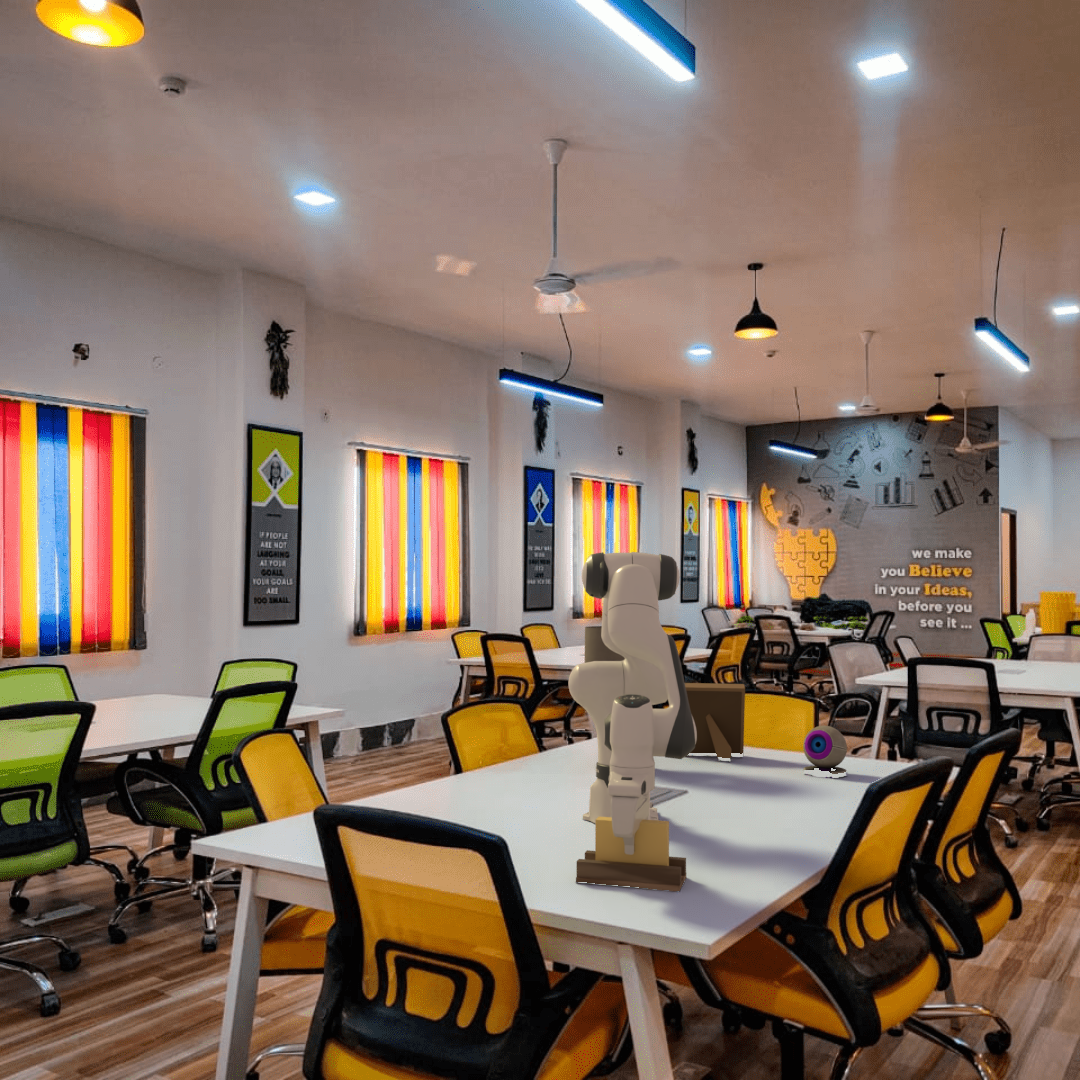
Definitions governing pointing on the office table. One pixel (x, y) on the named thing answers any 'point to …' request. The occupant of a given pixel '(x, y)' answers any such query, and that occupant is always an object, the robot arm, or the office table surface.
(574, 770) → the office table surface
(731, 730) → the photo frame
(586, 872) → the sliding track
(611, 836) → the door panel
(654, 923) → the office table surface
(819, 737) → the webcam
